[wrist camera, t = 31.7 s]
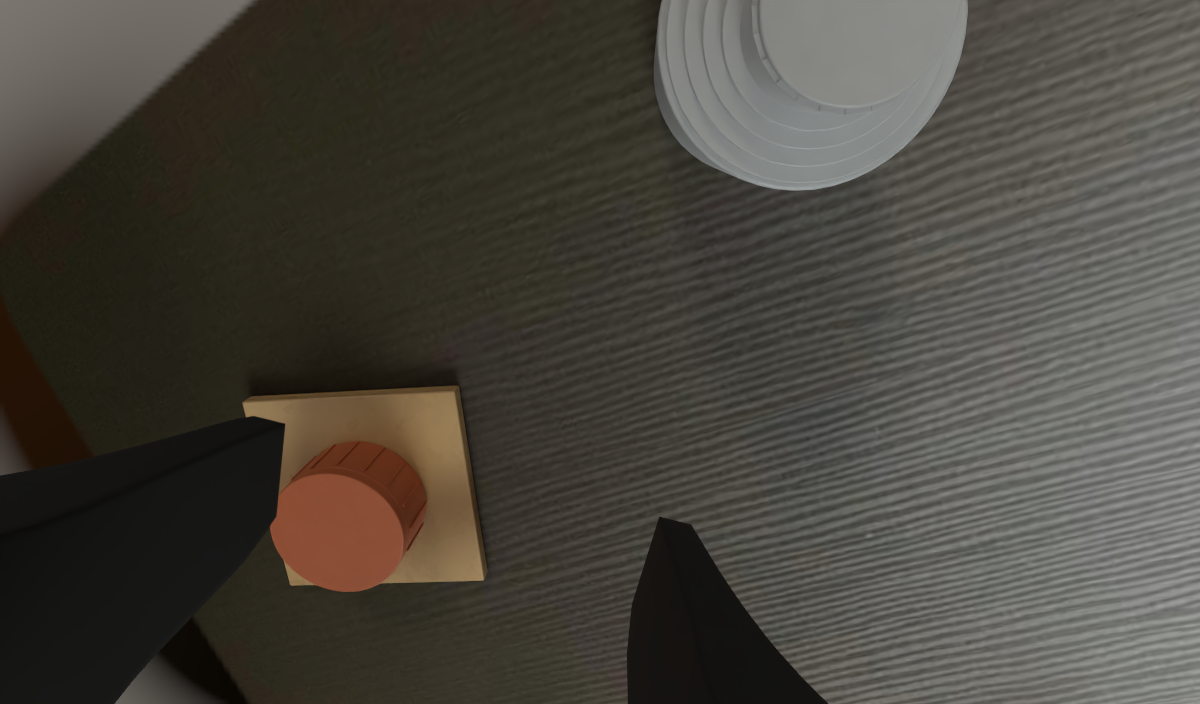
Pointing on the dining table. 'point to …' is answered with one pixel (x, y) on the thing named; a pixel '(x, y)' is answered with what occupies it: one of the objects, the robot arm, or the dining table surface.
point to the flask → (803, 82)
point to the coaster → (421, 437)
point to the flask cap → (349, 516)
